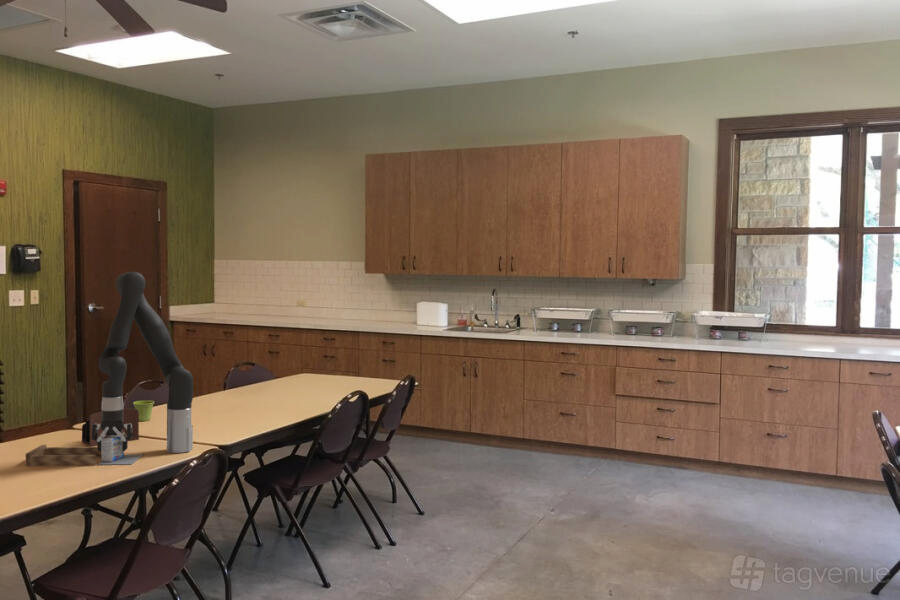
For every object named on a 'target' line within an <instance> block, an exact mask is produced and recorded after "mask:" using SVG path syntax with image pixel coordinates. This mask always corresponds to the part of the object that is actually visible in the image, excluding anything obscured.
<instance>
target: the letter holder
mask: <svg viewBox="0 0 900 600" xmlns="http://www.w3.org/2000/svg"><path fill="white" fill-rule="evenodd" d="M123 422H124V424H129V423H132V428H133V438H132V439H130V440H128V442H132V441H139V440H140V434H139V433H140V430H139V429H140V427H139V426H140V425H139V423H140V421H139V411H138V410H137V409H135V408H123ZM95 423H97V424H101V423H102V411H98V412H95V413H92V414H90V415H89V419H87V420H86V421H85V423H83V424H82V426H81V443H83V444H84V445H86V446H87V447H97V441H96V440H92V426H93V425H94V424H95ZM122 430H123V431H124V433H125V435H126V436H127V429H126V428H125V427H124V428H123V429H122ZM102 432H103V430H102V429H101V427H100V428H99V429H98V437H99V436H100V435H101V433H102ZM109 436H112V435H105V437H104V438H106V437H109ZM127 437H128V436H127Z"/></svg>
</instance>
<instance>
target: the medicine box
mask: <svg viewBox="0 0 900 600" xmlns="http://www.w3.org/2000/svg"><path fill="white" fill-rule="evenodd" d="M122 442H123V440H122V439H121V438H120V437H119V436H118V435H112V436H109V437H106V438H103V439H101V459H100V460H101V461H104V462H113V461H116V460H118V459H120V458H122V457H124V455H125V451H122Z"/></svg>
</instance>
